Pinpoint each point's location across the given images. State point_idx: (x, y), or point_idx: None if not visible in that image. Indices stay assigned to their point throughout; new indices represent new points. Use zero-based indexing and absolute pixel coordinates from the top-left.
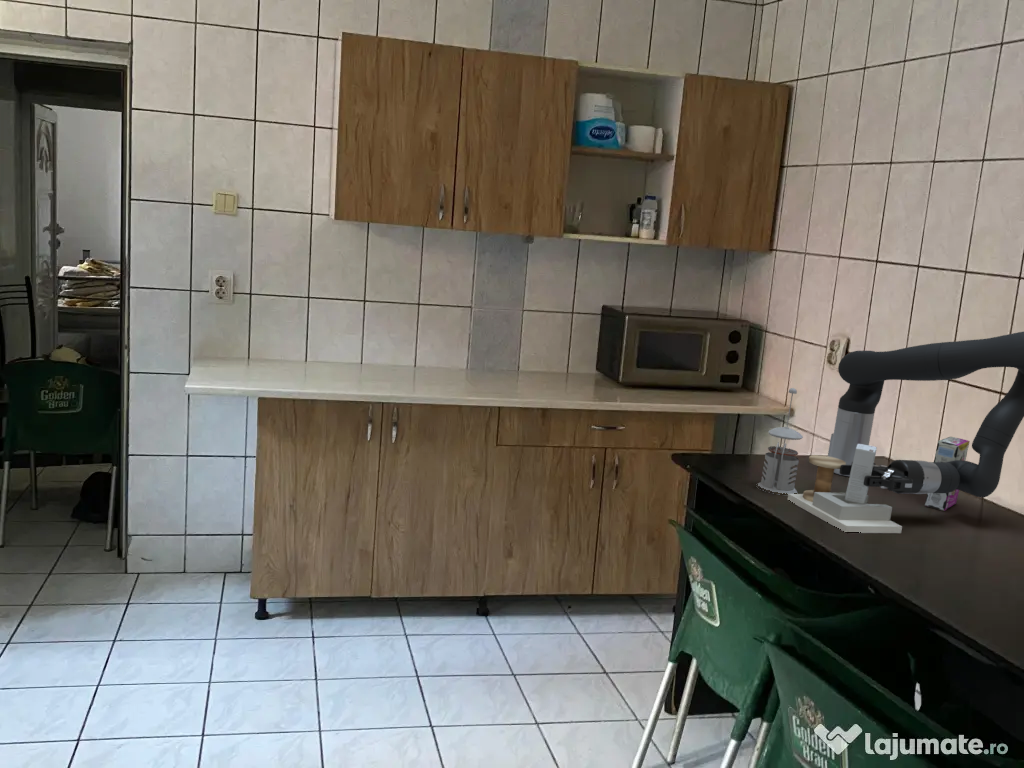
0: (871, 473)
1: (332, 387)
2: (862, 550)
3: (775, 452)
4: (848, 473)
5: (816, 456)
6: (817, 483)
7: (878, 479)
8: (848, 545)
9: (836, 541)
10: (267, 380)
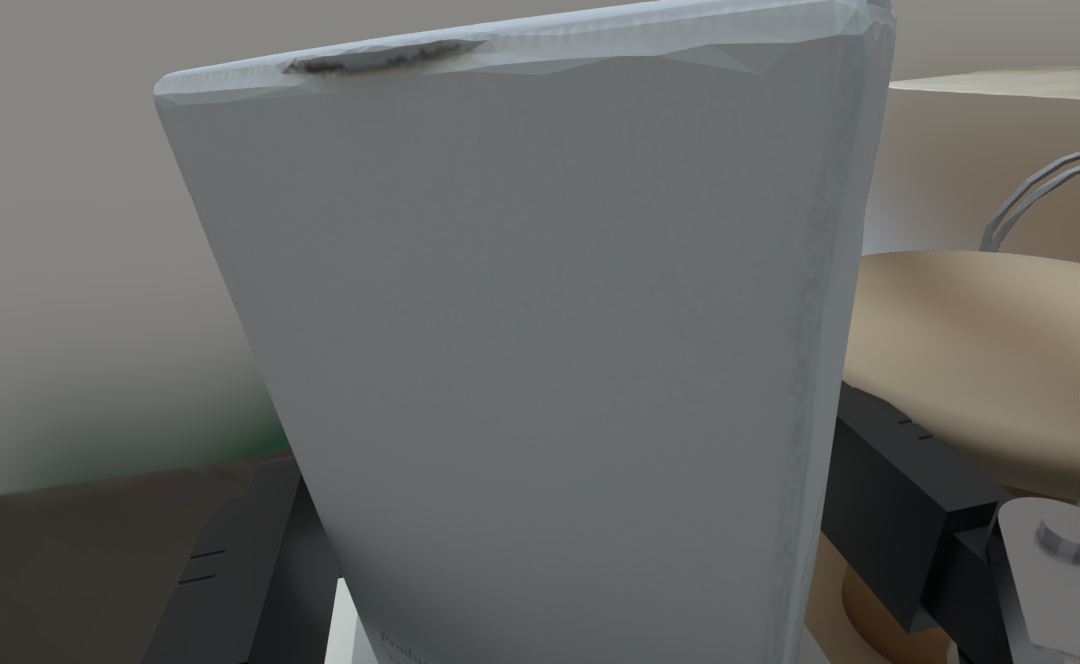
0: (534, 637)
1: (1019, 90)
2: (12, 604)
3: (1000, 206)
4: (831, 518)
5: (1078, 279)
6: None
7: (168, 616)
8: (111, 561)
9: (184, 526)
10: (965, 83)
